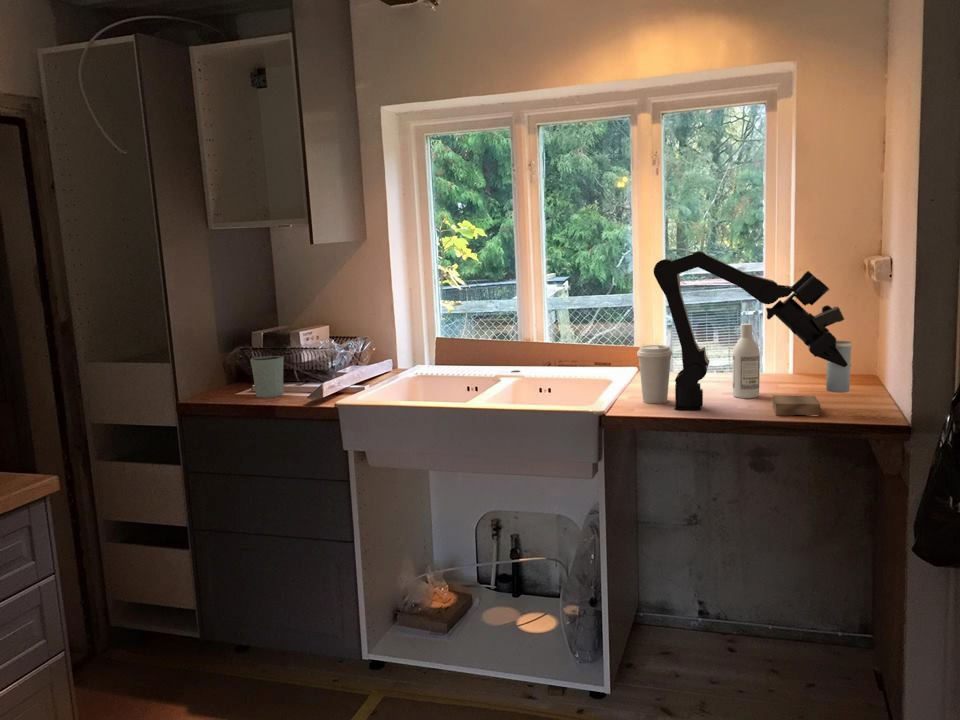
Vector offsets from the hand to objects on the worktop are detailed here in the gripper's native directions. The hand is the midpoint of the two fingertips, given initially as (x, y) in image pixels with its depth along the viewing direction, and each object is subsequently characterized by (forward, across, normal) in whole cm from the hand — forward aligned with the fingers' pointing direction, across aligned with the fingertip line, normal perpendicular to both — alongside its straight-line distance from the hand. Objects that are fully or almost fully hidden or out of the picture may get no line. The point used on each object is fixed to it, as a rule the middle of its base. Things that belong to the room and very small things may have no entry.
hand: (844, 364), depth 188 cm
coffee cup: (-24, +8, +41) cm, 48 cm away
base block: (+1, -1, +16) cm, 16 cm away
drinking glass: (-108, +4, +127) cm, 167 cm away
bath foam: (-7, +17, +25) cm, 31 cm away
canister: (+4, 0, +6) cm, 7 cm away
